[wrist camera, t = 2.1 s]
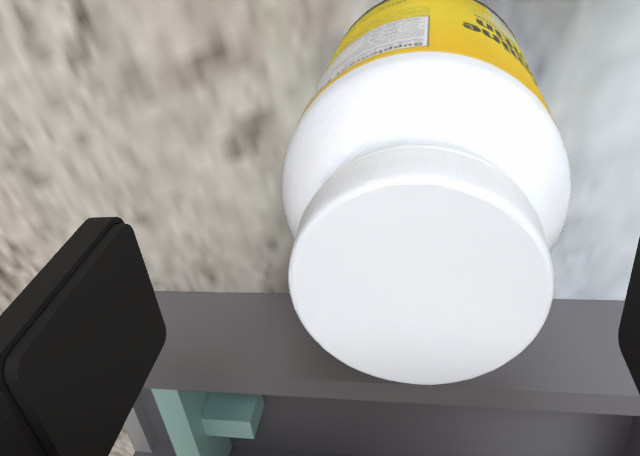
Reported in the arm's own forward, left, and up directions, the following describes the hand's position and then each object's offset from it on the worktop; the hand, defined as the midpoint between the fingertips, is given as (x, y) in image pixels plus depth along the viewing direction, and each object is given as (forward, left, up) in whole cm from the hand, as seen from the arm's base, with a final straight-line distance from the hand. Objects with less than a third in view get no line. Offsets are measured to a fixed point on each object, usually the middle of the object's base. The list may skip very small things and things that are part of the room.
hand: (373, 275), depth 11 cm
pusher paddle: (+9, +15, -10) cm, 20 cm away
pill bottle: (-1, 0, -11) cm, 11 cm away
